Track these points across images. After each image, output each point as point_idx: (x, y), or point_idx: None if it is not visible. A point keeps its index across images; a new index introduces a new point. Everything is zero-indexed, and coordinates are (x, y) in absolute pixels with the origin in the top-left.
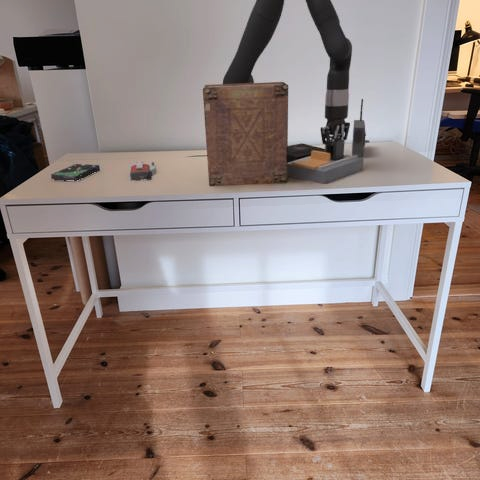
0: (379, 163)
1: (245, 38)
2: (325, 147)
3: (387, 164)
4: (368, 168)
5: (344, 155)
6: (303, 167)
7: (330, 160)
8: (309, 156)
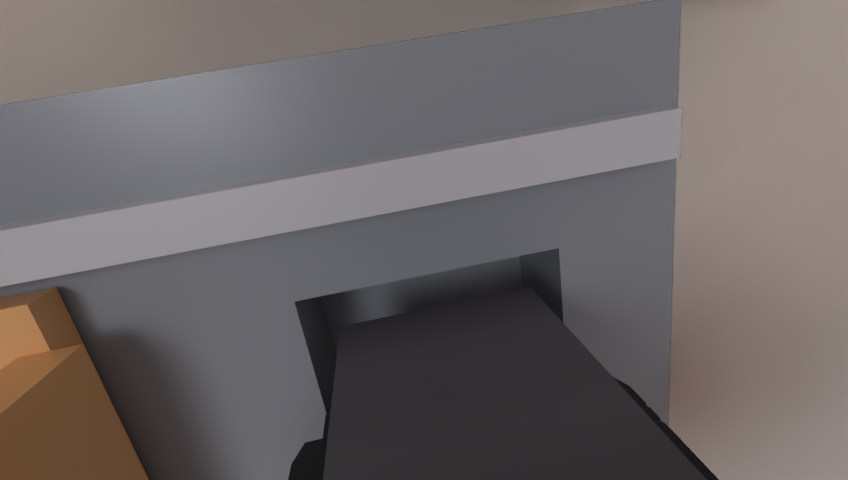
0: (838, 393)
1: None
2: (328, 460)
3: (839, 442)
4: None
5: (642, 365)
6: None
7: None
8: (76, 225)
